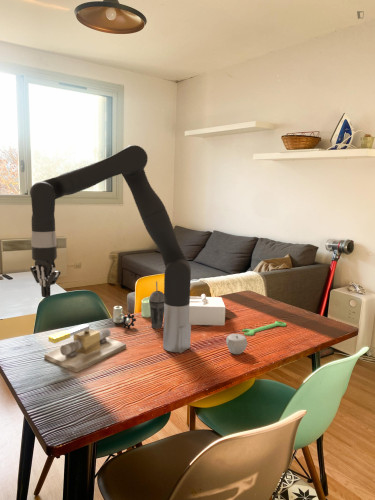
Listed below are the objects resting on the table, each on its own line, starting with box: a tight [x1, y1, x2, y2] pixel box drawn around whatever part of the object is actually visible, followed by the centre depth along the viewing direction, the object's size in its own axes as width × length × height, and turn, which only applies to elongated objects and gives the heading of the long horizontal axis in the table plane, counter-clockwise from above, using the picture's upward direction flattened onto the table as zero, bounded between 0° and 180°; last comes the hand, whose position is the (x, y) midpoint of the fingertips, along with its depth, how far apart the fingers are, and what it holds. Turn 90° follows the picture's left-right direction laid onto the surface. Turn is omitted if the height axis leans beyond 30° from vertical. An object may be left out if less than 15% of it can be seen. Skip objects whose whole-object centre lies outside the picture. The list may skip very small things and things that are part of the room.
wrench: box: [241, 320, 287, 336], centre depth 161 cm, size 25×2×5 cm
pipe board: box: [43, 327, 127, 373], centre depth 131 cm, size 16×23×8 cm
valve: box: [112, 305, 137, 329], centre depth 160 cm, size 7×7×12 cm
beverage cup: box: [149, 280, 164, 330], centre depth 157 cm, size 7×7×20 cm
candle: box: [141, 296, 151, 318], centre depth 171 cm, size 5×5×8 cm
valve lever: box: [48, 323, 90, 344], centre depth 125 cm, size 15×3×3 cm, turn 147°
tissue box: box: [189, 293, 226, 326], centre depth 169 cm, size 14×25×11 cm, turn 92°
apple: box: [225, 333, 248, 355], centre depth 136 cm, size 8×8×7 cm
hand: (46, 296), depth 123 cm, fingers closed
